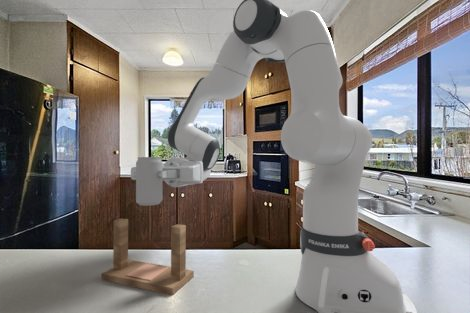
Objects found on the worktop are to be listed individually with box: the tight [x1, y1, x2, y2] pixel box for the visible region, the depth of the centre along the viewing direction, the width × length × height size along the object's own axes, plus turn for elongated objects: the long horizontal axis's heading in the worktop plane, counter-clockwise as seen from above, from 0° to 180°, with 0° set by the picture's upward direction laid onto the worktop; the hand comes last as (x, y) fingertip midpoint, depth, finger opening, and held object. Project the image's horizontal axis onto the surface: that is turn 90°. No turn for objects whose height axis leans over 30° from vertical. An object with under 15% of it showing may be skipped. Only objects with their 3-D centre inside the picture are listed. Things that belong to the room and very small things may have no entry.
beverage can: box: [135, 156, 164, 207], centre depth 65 cm, size 6×6×12 cm
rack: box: [101, 218, 195, 296], centre depth 62 cm, size 20×9×14 cm, turn 70°
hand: (147, 174), depth 64 cm, fingers closed on beverage can, 6 cm apart
